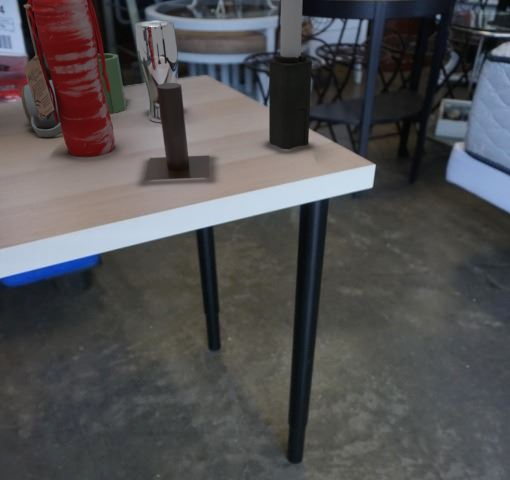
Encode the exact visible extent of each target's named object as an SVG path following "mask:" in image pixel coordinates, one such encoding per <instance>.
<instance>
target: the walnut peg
mask: <svg viewBox="0 0 510 480" xmlns="http://www.w3.org/2000/svg"><path fill="white" fill-rule="evenodd" d="M157 92H158V100H159V108H160V115H161V122H160V123H161V130H162V138H163V146H164V147H163V148H164V154H165V156H162V157H161V156H160V157H150V158H149V161H148V163H147V164H148V165H147V168H146V172H145V176H144V181H162V180H165V181H166V180H186V179H208V178H210V161H211V160H210V158H211V157H210V155H190V156H189V150H188V149H189V148H188V139H187V129H186V119H185V118H186V117H185V110H184V100H183V88H182V84H181V83H164V84H160V85H158V86H157Z"/></svg>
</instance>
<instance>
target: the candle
mask: <svg viewBox="0 0 510 480" xmlns="http://www.w3.org/2000/svg"><path fill="white" fill-rule="evenodd" d="M302 22H303V0H280V52H278V53H275V54H274V58H270V59H269V60H268V80H269V81H268V96H269V97H268V102H269V103H268V109H269V110H268V111H269V112H268V120H269V121H268V129H269V131H268V134H269V135H268V138H269V140H268V141H269V142H268V143H269V144H271V145H273V146H274V147H277V148H280V149H282V150H291V149H294V148H297V147H302V146H306V145H309V138H310V137H309V136H310V118H311V117H310V114H311V95H312V94H311V93H312V71H313V67H312V66H313V60H312V59H309V58H308V57H307V53H306V52H305V53H304V52H302V26H303V24H302Z"/></svg>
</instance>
